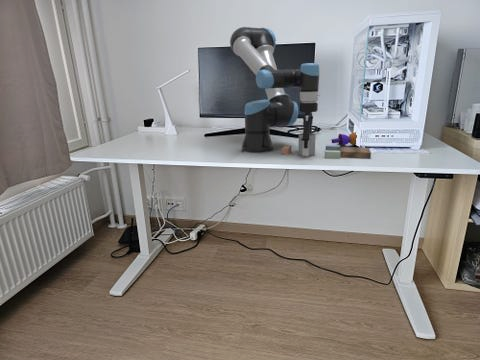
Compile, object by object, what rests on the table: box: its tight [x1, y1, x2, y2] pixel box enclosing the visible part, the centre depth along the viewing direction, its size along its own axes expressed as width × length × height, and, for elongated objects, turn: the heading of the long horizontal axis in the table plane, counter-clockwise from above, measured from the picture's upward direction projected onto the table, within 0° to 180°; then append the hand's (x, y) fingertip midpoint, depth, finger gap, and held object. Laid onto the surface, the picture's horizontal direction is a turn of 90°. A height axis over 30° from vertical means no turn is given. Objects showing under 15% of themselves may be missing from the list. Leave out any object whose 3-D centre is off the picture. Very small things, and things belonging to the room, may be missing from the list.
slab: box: [340, 146, 372, 160], centre depth 134 cm, size 12×10×2 cm
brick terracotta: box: [281, 145, 293, 155], centre depth 142 cm, size 6×3×3 cm, turn 158°
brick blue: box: [324, 144, 341, 151], centre depth 142 cm, size 6×3×3 cm, turn 68°
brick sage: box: [324, 150, 341, 160], centre depth 131 cm, size 6×3×3 cm, turn 79°
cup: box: [297, 132, 316, 157], centre depth 138 cm, size 7×10×9 cm
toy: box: [331, 131, 357, 147], centre depth 153 cm, size 11×8×15 cm
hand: (306, 152), depth 139 cm, fingers open, 12 cm apart
